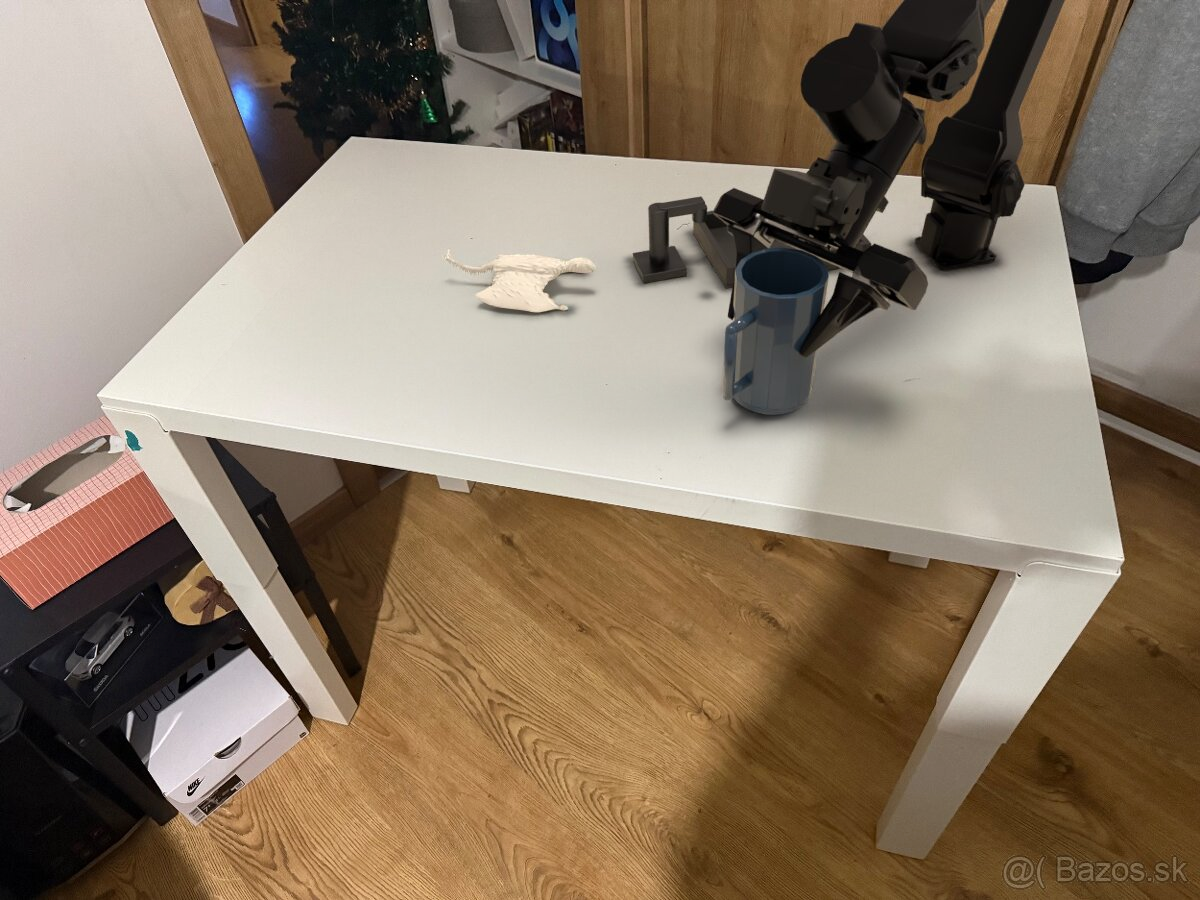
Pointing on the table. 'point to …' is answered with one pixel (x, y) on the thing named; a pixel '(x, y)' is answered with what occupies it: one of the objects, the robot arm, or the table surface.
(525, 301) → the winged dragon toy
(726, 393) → the mug
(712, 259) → the tray
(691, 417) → the table surface
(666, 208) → the tap
